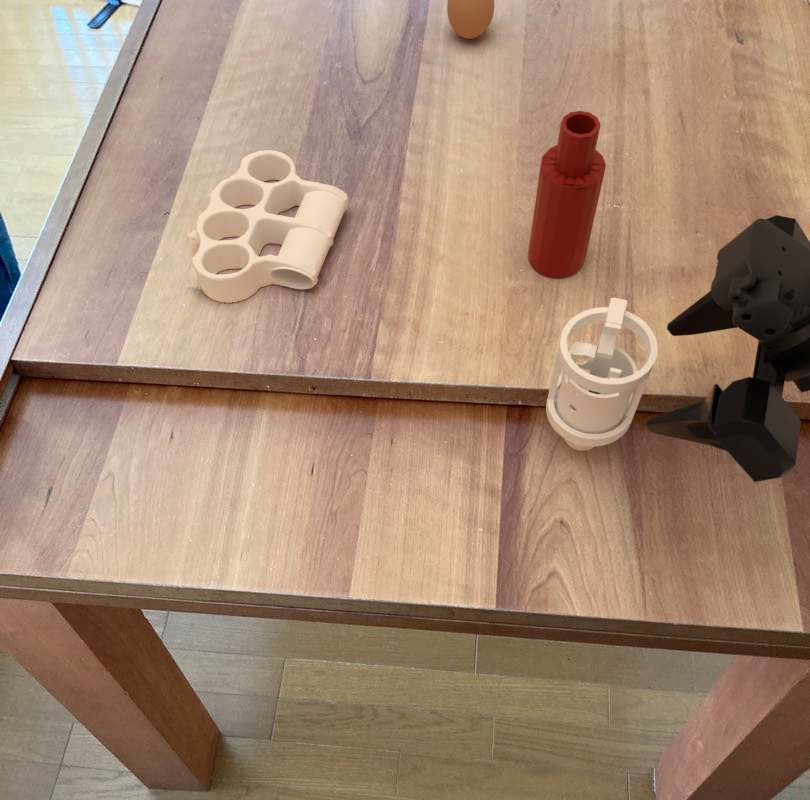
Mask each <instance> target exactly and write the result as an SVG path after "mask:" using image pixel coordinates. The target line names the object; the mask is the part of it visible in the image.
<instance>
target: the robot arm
mask: <svg viewBox="0 0 810 800" xmlns="http://www.w3.org/2000/svg"><path fill="white" fill-rule="evenodd" d="M716 260H717V264H716V270H715V275H714V278H713V280H712V282H711V284H710V285H711V286H710V290H709V291H708V292H707V293H706V294H704V295H703V296H702V297H700V299H698V300H696V301H695V302H694V303H692V304H691V305H690V306H689V307H688V308H686V309H685V310H684V311H683V312H681V313H680V314H678V315H677V316H676V317H675V318H673V319H672V320H670V321H669V322H668V323H667V325H666V331H668V333H669V334H670V335H671V336H672V337H682V336H683V337H684V336H693V335H700V334H707V333H712V332H713V333H714V332H718V331H724V330H730V329H737V328H738V329H739V330H741V331H743V332H745V333H746V334H747V335H749V336H751V337H752V338H754V339H756V340H758V342H757V348H756V355H755V360H754V366H753V372H752V377H751V376H748V377H744V378H741V379H736V380H733V381H732V382H730V383H729V384H728V386H727V387H726V388H725V389H722V388H721V386H720V385H719V384H718V383H715V384H713V387H712V388H711V390H710V391H709V393H708V395H707V396H706V398H705V399H704V400H703V401H700V402H697V403H694V404H690V405H689V404H688V405H686V406H682V407H680V408H676V409H673V410H670V411H665V412H663V413H659V414H657V415H655V416H653V417H650V418H649V419H646V420H645V424H644V426H645V427H646V428H647V430H649V432H651V433H652V434H656V435H661V436H666V437H669V438H674V439H679V440H683V441H688V442H693V443H697V444H702V445H705V446H710V447H712V448H716V449H718V450H721V451H724V452H727V453H728V454H729V455H730V456H731V457H732V458H733V460H734V461H735V462H736V463H737V464H738V466H740V468H742V469H743V471H744V472H745V473H746V474H747V475H748V477H749V478H750V479H751V480H752V481H753V483H758V482H762V481H769V480H775V479H780V478H782V477H785V476H787V475H789V473H790V472H791V471H792V470H793V469H794V467H795V466H796V463H797V455H798V448H799V441H800V434H801V433H800V432H801V426H802V420H800V418H799V417H798V416H797V414H796V413H795V412H794V410H793V409H792V407H791V406H790V405H789V404H788V403H787V401H786V400H785V399H784V397H783V395H784V386H785V383H789V382H793V383H794V385H795V386H796V387H797V389H798V390H799V391H800V393H805V392H810V240H809V238H808V237H807V235H806V234H805V232H804V230H803V228H802V227H801V225H800V224H799V222H798V220H797V218H793V217H787V216H783V215H777V214H775V215H773V216H770V217H768V218H757V219H755V220H754V221H753V222H752V223H750V224H749V225H748V226H747V227H746V228H744V229H743V230H742V231H741V232H740V233H738V234H737V235H736V236H734V238H732V239H731V240H730V241H729V242H728V243H726V244H725V245H724V246H723V247H722V248H720V249H719V250H718V252H717V256H716Z"/></svg>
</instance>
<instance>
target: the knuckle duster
mask: <svg viewBox="0 0 810 800" xmlns="http://www.w3.org/2000/svg"><path fill="white" fill-rule="evenodd" d="M269 181H276V182H269ZM206 196H207V198H208V199H209V204H208V206H207V207H206V209H205V210H204V211H203V212H202V213H201V214H199V215H198V216H197V222H196V229H194V230H193V231H191V232H189V233H188V234H186V235H185V238H188V239H190V240H191V241H194V242H195V243H198V244H199V247H198V249H197V251H196V253H195V254H194V256H193V257H192V258H191V262H192V263H191V264H192V266H193V269H194V272H195V275H196V277H197V280H198V283H199V285H200V289H201V290H202V292H203V293H204V294H205V295H206V297H208V298H210V299H211V300H213V301H216V302H219V303H224V302H225V304H231V303H232V302H233V303H238V301H239V302H241V301H244V300H246V299H249V298H250V297H252V296H253V295H254V294H256V293H257V292H258V290H260V289H261V288H263V287H267V286H270V285H275V286H280V287H286V288H290V289H294V290H309V289H312V288H314V286H316V285H317V283H318V281H319V280H318V277H319V275H320V272H321V270H322V268H323V265H324V262H325V260H326V257H327V256H328V253H329V250H330V248H331V247H333V245H334V239H335V236H336V234H337V231H338V229H339V227H340V224H341V221H342V219H343V217H344V214H345V211H347V210H348V208H349V202H350V198H349V196H348V194H347V193H346V192H345V191H343V190H342V189H341V188H338V187H336V186H334V185H331V184H327V183H321V182H317V181H312V180H305V179H302V178H301V177H300V176H299V175H298V172H297V168H296V164H295V163H294V160H292V159H291V157H289V156H288V155H287V154H285V153H284V152H281V151H277V150H273V149H264V150H257V151H253V152H252V153H249V154H247V155H245V156H244V157H243V158H242V159H241V163H240V166H239V168H238V169H237V171H235V173H233V174H232V175H231V176H229V177H227V178H225V179H222V180H221V181H220V182H219V183H218V184H217V185H216V186H215V187H214V188H213V189H212V191H210V193H207V194H206ZM246 205H248V206H249V205H250V206H251V207H249V208H237V207H241V206H246ZM293 207H298V209H297V211H296V213H295V215H294V217H292V216H287V215H282V214H280V213H282V212H286V211H288V210H290V209H292V208H293ZM232 237H233V238H234V237H237V238H234V239H233V238H232ZM225 238H232V239H225ZM269 244H275V245H280V246H281V247H280V249H279V252H278V254H277V255H274V254H266V255H263V256H260V254H261V251H262V250H263V248H264V247H265V246H266V245H269ZM233 269H240V270H238V271H237V272H233V273H225V274H223V273H221V272H223V271H226V270H233ZM219 273H221V274H219Z"/></svg>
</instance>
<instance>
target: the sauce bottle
mask: <svg viewBox="0 0 810 800" xmlns="http://www.w3.org/2000/svg"><path fill="white" fill-rule="evenodd" d="M561 119H562V120H561V122H560V127H559V132H558V139H557V144H556V145H554V146H552V147H550V148H548V149H547V151H546V152H545V153H544V154H543V155H542V157H541V161H540V167H539V175H538V182H537V188H536V195H535V201H534V210H533V215H532V216H533V217H532V222H531V223H532V225H531V231H530V238H529V245H528V255H527V257H528V263H529V265H530V267H532V268H533V270H534V269H535V270H534V271H535V272H536V273H538V274H540V275H541V274H542V275H541V276H544V277H546V276H547V277H546V278H550V277H551V278H550V279H565V278H568V277H567V276H569V277H571V275H572V276H574V275H575V274H577V273H578V272H579V271H580V270H581V269H582V268H583V266H584V264H585V261H586V257H587V252H588V248H589V243H590V239H591V234H592V229H593V225H594V222H595V217H596V213H597V208H598V203H599V199H600V195H601V191H602V185H603V182H604V177H605V172H606V167H607V165H606V162H605V161H606V160H605V158H604V156H603V155H602V154H601V153H600V152H599V151H598V150H597V149H596V148H597V145H598V140H599V136H600V130H601V126H602V125H601V122H600V120H599V117H597V116H596V115H594V114H593V113H592V112H588V111H584V110H577V111H571V112H569V113H567V114H566V115H564V116H563V117H562V118H561ZM581 267H582V268H581ZM577 271H578V272H577ZM576 272H577V273H576ZM573 274H574V275H573ZM564 277H565V278H564Z"/></svg>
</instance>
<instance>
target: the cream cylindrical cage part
mask: <svg viewBox="0 0 810 800" xmlns="http://www.w3.org/2000/svg"><path fill="white" fill-rule="evenodd" d="M627 306H628V300H626V299H623V298H618V297H611V298H610V300H609V304H608V306H607V307H605V306H601V307H593V308H590V309H586V310H583V311H581V312H579V313H577V314H575V315H574V316H573V317H572V318H570V320H568V322H567V323H566V324H565V326H564V327H563V329H562V331H561V334H560V338H559V343H558V346H557V347H558V348H557V353H556V357H555V361H554V366H553V371H552V376H551V379H550V386H549V390H548V393H547V394H548V395H547V399H546V404H545V413H546V416H547V420H548V423H549V424H550V426H551V427H552V429H553V430H554V431H555V432H556V433H557V434H558V435H559V436H560V437H562V438H563V440H564V441H565V443H566V445H568V446H569V447H570V448H572V449H574V450H576V451H581V452H583V451H589V450H592V449H594V447H602V446H607V445H609V444H612V443H615V442H616V441H617V440H620V439H621V438H622V437H623V436H624V435H625V434H626V433H627V431H628V430H629V429H630V426H631V425H632V421H633V420H634V416H635V414H636V411H637V409H638V406H639V404H640V401H641V398H642V396H643V393H644V391H645V388H646V387H647V384H648V380H649V378H650V375H651V374H652V370H653V368H654V366H655V363H656V361H657V357H658V351H659V349H658V348H659V345H658V341H657V338H656V335H655V333H654V331H653V330H652V329H651V327H650V326H649V325H648V324H647V322H646V321H644V320H643V319H642V318H640V317H639V316H638V315H636V314H634V313H632V312H629V311H627ZM596 323H603V325H602V329H601V333H600V338H599V342H596V344H595V345H593V343H589V342H585V343H583V342H580V341H579V340H577V341H576V342H574V343H573V344H572V345H571V347H570V348H569V349H568V341H569V339H570V337H571V336H572V335H573V334H574V333H575V332H576V331H578V330H579V329H581V328H582V327H585V326H587V325H590V324H591V325H592V324H596ZM622 327H623V328H626V329H628V330H629V331H631V332H633V333H634V334H635V335H636V336H637V337H638V338H639V339H640V341H641V342H642V344H645V347H646V349H645V350H646V355H647V356H646V358H645V362H644V364H643V366H642V367H641V368H640V369H639V370H638V369H637V365H636V363H635V360H634V359H633V358H632V357H631V355H630V354H629V353H628V352H626V351H625V350H624V349H622V348H620V347H619V346H617V345H616V341H617V338H618V336H619V334H620V333H621V329H622ZM577 359H578V360H581V361H582V360H584V361H586V362H580V361H579V362H577ZM562 370H563V371H562ZM561 371H562V374H561Z"/></svg>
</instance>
